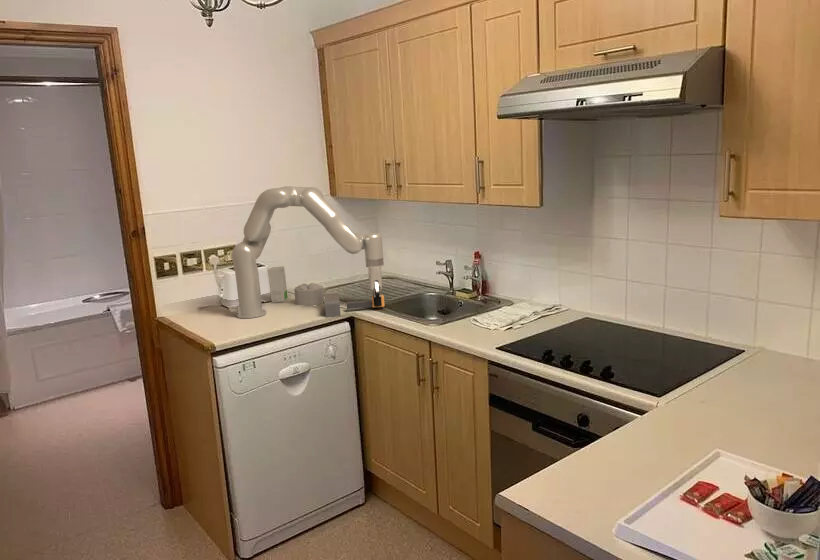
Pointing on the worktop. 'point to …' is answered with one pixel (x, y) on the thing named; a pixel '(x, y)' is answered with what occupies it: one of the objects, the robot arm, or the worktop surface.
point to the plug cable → (363, 303)
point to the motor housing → (332, 305)
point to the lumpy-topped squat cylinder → (309, 294)
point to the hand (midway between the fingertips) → (377, 304)
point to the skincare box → (277, 284)
